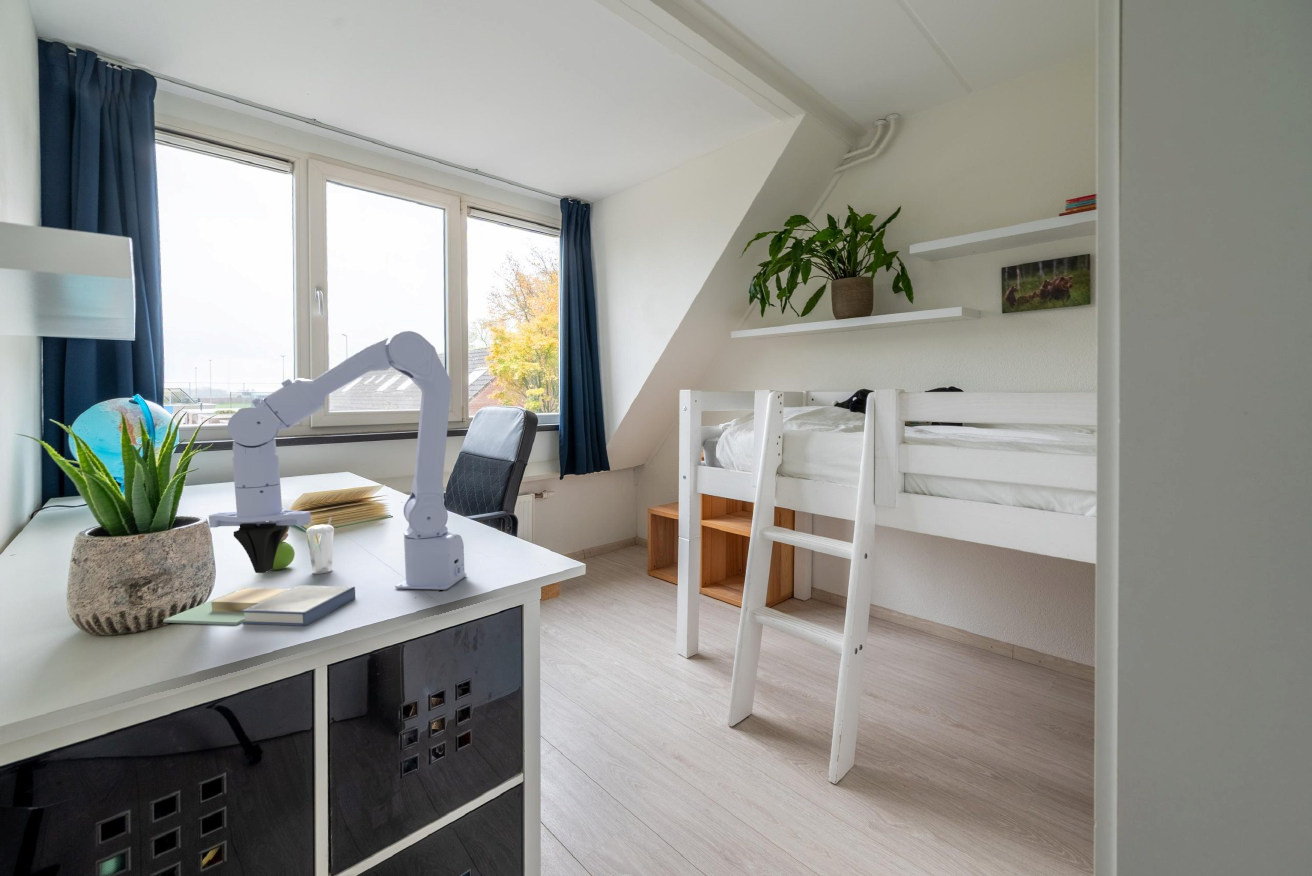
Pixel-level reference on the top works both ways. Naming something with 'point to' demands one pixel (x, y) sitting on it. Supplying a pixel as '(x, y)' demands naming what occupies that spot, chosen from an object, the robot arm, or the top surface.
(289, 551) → the snail figurine
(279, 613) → the notebook
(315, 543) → the milkshake
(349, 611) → the top surface
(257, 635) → the top surface
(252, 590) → the tile
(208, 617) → the mat
